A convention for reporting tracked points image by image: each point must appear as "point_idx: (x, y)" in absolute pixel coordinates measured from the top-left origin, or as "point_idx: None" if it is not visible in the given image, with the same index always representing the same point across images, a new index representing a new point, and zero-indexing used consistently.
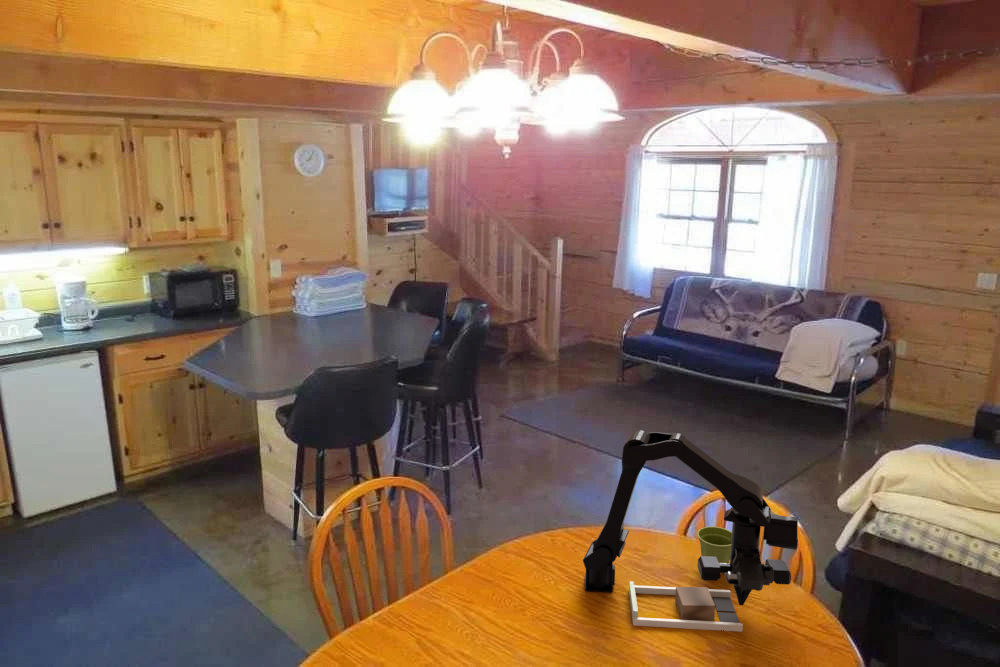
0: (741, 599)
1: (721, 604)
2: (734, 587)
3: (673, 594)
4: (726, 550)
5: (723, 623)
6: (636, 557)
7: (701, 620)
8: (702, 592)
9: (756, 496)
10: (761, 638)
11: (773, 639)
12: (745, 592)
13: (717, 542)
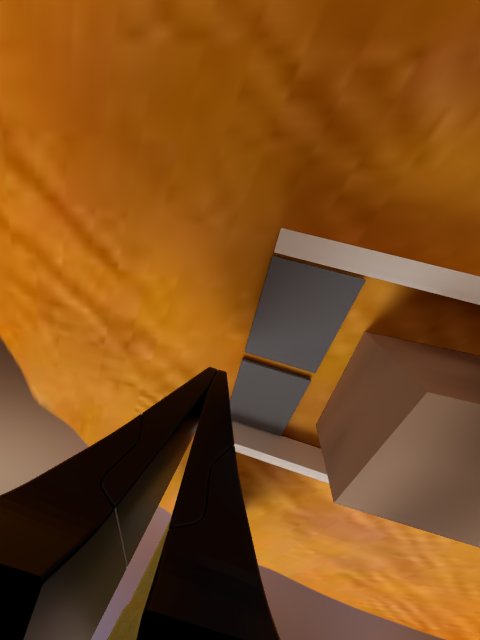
0: (209, 393)
1: (273, 401)
2: (254, 555)
3: None
4: None
5: (393, 267)
6: (382, 576)
7: (428, 345)
8: (394, 491)
9: None
10: (208, 157)
11: (151, 141)
12: (158, 439)
13: None
